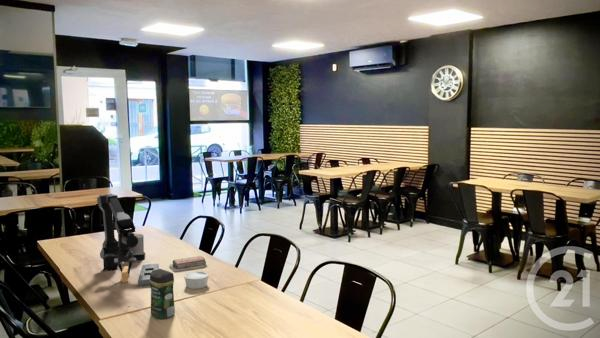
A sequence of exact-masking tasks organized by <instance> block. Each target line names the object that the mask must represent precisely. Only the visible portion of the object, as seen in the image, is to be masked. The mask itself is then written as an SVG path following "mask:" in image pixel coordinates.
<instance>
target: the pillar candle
mask: <svg viewBox="0 0 600 338" xmlns="http://www.w3.org/2000/svg"><path fill="white" fill-rule="evenodd" d="M134 236H136V237H137V238H138V244H137V245H136V246H135V247H133V248H131V251H133V255H135V254H137V252H145V249H144V248H145V247H144V246H145V243H144V241H145V240H144V239H145V238H144V234H142V233H134ZM136 262H142V260H140V261H138V260H136V261H135V262H134V263H136Z"/></svg>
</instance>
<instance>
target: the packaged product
mask: <svg viewBox="0 0 600 338" xmlns="http://www.w3.org/2000/svg"><path fill="white" fill-rule="evenodd" d="M168 265H169V268H170V269H171V270H172V272H175V273H176V272H180V271H188V270H194V269H199V268H206V267H207V268H208V264H207V261H206V259H205V257H204V256H203V255H198V256H191V257H183V258H178V259H173V260H172V263H170V264H168Z"/></svg>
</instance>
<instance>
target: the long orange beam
mask: <svg viewBox="0 0 600 338" xmlns="http://www.w3.org/2000/svg"><path fill="white" fill-rule="evenodd" d="M128 266H129V265H125V266H123V270H122V272H121V271H120V272H121V282H122V283H128V281H129V278H130V272H129V274H128Z"/></svg>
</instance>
